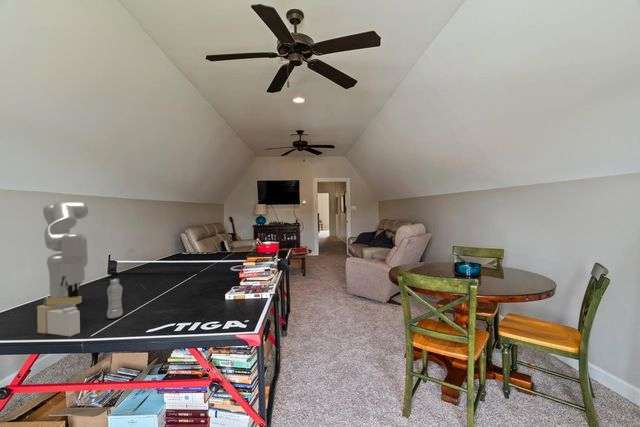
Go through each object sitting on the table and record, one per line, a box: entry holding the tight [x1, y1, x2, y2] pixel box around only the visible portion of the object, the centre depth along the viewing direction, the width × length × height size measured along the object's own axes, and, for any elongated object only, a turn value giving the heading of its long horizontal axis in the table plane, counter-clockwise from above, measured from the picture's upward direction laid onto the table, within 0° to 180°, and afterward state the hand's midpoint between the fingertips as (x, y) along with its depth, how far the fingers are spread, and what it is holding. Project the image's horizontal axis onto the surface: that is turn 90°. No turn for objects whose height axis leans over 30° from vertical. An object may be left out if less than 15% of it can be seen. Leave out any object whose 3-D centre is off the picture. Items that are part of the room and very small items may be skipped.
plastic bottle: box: [106, 277, 124, 320], centre depth 144 cm, size 6×7×20 cm
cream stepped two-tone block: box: [36, 304, 81, 337], centre depth 127 cm, size 20×5×12 cm, turn 75°
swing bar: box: [43, 295, 83, 305], centre depth 129 cm, size 15×3×3 cm, turn 94°
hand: (73, 298), depth 132 cm, fingers closed
